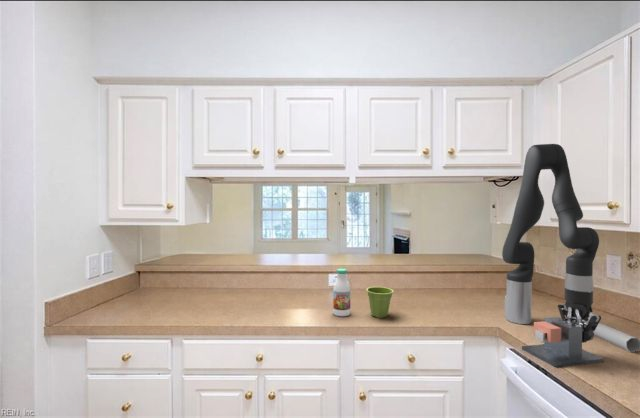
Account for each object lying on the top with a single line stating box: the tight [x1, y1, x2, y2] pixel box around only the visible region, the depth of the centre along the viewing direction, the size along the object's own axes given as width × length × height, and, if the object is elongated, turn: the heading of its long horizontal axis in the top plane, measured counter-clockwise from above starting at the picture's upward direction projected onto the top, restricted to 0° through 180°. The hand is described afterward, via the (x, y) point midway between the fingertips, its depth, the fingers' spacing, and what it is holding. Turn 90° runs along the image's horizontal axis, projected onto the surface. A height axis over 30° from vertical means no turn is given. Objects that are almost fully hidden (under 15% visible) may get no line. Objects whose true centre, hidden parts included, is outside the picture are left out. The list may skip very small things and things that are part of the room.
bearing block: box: [521, 316, 605, 368], centre depth 111 cm, size 13×18×11 cm
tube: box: [577, 319, 640, 353], centre depth 127 cm, size 5×5×25 cm
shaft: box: [534, 323, 595, 343], centre depth 111 cm, size 6×18×6 cm, turn 101°
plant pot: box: [366, 286, 394, 319], centre depth 151 cm, size 12×12×11 cm
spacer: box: [533, 320, 561, 342], centre depth 110 cm, size 6×4×4 cm, turn 12°
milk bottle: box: [332, 268, 351, 317], centre depth 152 cm, size 8×8×20 cm
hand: (577, 339), depth 113 cm, fingers closed on shaft, 3 cm apart
